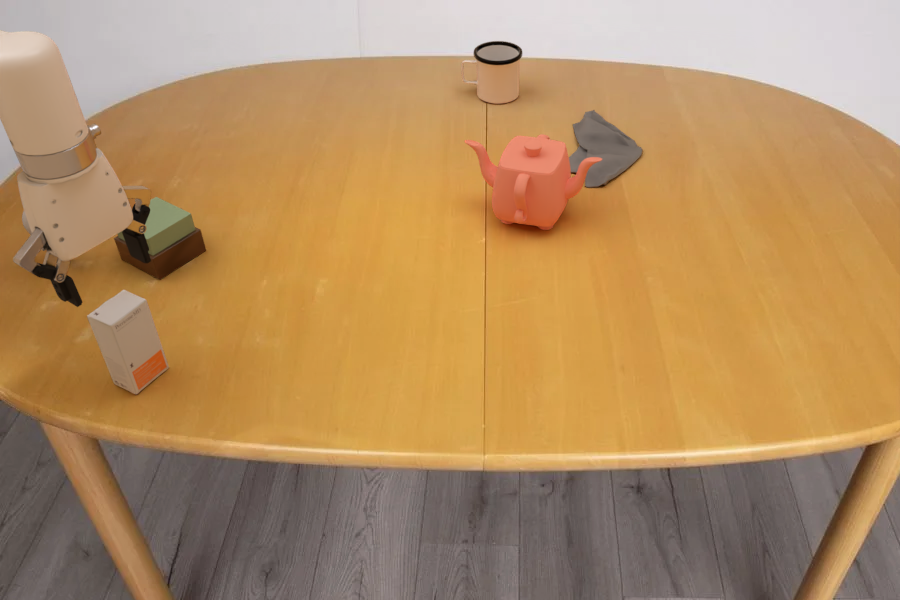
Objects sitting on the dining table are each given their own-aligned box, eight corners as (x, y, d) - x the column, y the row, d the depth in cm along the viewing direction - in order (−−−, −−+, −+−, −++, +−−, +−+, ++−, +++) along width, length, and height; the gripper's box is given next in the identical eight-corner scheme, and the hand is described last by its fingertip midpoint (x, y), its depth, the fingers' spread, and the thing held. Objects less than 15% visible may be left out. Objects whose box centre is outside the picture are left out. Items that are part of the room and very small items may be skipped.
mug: (525, 85, 176) (525, 42, 170) (518, 107, 170) (518, 63, 164) (466, 81, 178) (465, 38, 172) (457, 103, 171) (455, 59, 165)
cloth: (634, 193, 147) (636, 181, 146) (554, 183, 149) (554, 172, 148) (648, 119, 166) (649, 108, 165) (576, 112, 168) (577, 101, 167)
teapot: (597, 223, 141) (603, 154, 132) (505, 250, 135) (506, 180, 127) (552, 178, 151) (555, 111, 142) (465, 202, 145) (463, 134, 137)
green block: (153, 255, 128) (147, 239, 126) (118, 237, 131) (112, 221, 129) (195, 229, 133) (191, 213, 131) (161, 212, 136) (156, 196, 134)
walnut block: (159, 280, 130) (152, 258, 127) (121, 259, 134) (113, 238, 131) (206, 250, 135) (200, 229, 133) (168, 231, 139) (161, 210, 137)
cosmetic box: (137, 396, 112) (109, 326, 104) (113, 384, 114) (84, 315, 106) (171, 367, 116) (147, 298, 108) (148, 356, 118) (122, 287, 110)
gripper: (104, 111, 99) (146, 234, 111) (-40, 179, 89) (24, 307, 100) (146, 129, 96) (186, 254, 108) (3, 202, 86) (63, 331, 97)
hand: (108, 279), depth 104 cm, fingers open, 9 cm apart
